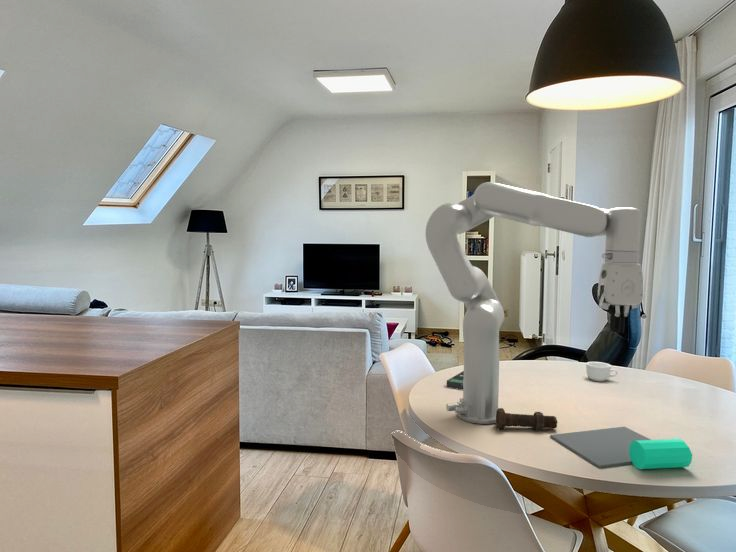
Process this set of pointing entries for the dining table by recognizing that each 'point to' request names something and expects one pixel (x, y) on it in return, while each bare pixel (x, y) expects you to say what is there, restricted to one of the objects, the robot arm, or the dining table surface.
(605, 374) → the teacup
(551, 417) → the bolt
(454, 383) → the disk drive
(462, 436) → the dining table surface
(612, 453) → the mat
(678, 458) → the candle
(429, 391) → the dining table surface
